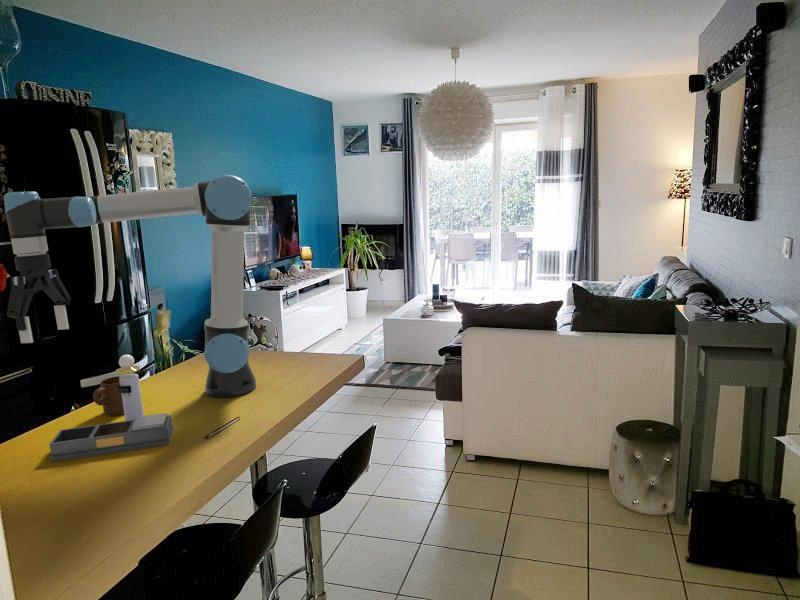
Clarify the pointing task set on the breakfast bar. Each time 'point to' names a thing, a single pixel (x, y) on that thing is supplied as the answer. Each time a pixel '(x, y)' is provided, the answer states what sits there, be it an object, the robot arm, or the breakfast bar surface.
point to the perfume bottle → (130, 388)
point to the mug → (109, 396)
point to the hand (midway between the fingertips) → (46, 335)
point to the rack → (112, 437)
